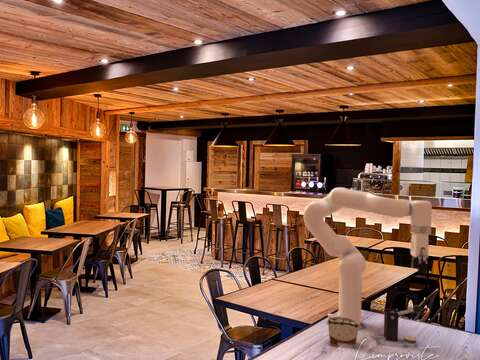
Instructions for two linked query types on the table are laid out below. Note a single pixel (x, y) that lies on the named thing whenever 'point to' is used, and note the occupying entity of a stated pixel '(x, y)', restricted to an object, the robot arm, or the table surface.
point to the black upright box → (390, 325)
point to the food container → (342, 330)
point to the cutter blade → (411, 310)
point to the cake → (409, 339)
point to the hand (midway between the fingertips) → (419, 270)
